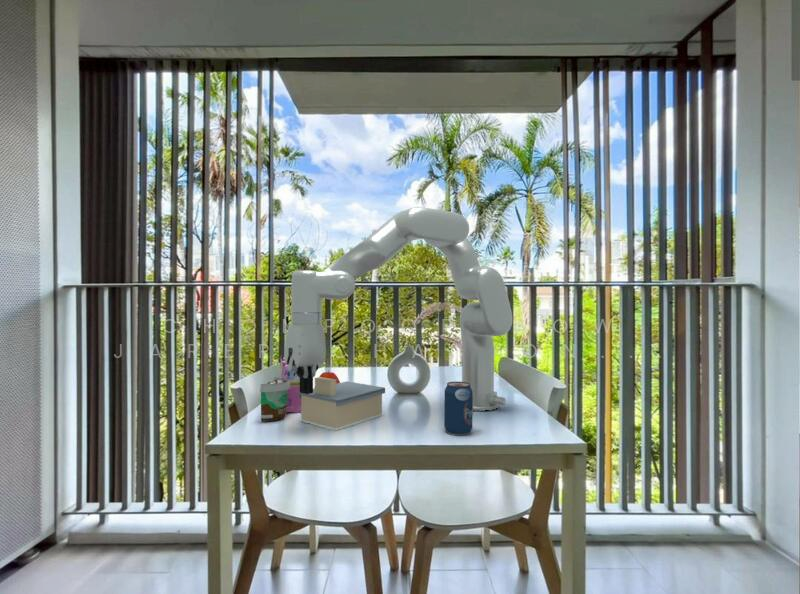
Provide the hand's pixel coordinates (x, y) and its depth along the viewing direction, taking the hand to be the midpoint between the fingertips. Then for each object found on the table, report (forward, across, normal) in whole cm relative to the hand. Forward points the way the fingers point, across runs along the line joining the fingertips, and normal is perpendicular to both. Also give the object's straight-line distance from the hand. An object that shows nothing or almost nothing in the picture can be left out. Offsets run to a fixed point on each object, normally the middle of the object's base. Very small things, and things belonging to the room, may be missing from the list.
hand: (306, 392), depth 114 cm
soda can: (+9, -22, +31) cm, 39 cm away
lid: (+3, -13, 0) cm, 13 cm away
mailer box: (+9, -13, 0) cm, 16 cm away
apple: (+10, -21, -14) cm, 27 cm away
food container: (+9, -3, -14) cm, 17 cm away
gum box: (+10, -16, -24) cm, 30 cm away
